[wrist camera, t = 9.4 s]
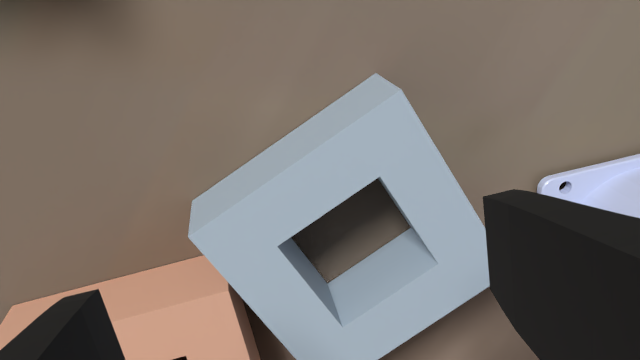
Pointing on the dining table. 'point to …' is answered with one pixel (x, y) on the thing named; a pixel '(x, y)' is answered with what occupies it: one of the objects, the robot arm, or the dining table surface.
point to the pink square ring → (163, 314)
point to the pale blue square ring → (323, 195)
